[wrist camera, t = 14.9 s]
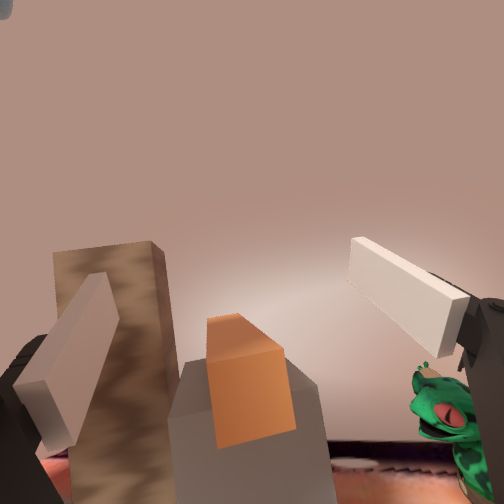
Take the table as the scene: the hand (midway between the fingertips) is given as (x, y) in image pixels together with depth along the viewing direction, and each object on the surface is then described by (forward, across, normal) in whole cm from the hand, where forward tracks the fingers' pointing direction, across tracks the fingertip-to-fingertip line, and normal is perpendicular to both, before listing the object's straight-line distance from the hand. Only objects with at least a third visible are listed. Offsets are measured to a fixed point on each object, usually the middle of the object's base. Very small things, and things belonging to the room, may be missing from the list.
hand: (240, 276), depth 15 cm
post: (+7, -12, -32) cm, 35 cm away
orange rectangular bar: (+5, 0, -12) cm, 13 cm away
